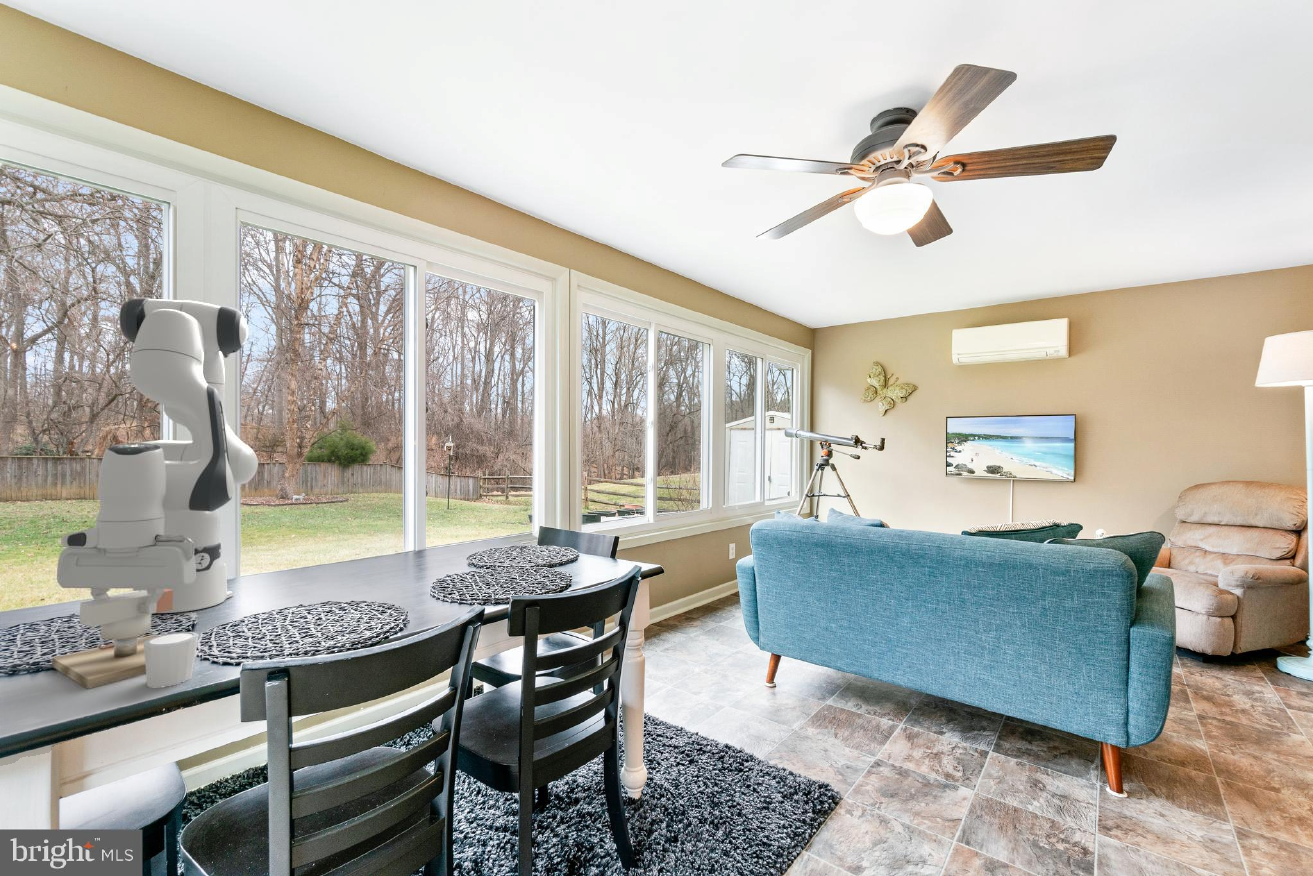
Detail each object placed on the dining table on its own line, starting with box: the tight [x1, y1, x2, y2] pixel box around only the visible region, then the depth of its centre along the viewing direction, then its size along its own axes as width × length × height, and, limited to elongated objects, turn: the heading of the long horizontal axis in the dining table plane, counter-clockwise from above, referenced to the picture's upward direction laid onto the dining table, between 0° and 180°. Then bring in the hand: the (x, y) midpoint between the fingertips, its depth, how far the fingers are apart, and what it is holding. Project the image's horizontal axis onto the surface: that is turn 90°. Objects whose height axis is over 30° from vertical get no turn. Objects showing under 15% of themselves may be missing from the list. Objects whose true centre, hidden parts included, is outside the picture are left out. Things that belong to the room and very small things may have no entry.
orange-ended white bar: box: [78, 589, 173, 640], centre depth 98 cm, size 6×11×7 cm, turn 158°
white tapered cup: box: [144, 631, 199, 688], centre depth 92 cm, size 7×7×7 cm
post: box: [113, 636, 139, 658], centre depth 98 cm, size 3×3×4 cm
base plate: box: [51, 634, 159, 690], centre depth 98 cm, size 16×14×2 cm
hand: (127, 612), depth 98 cm, fingers closed on orange-ended white bar, 5 cm apart
